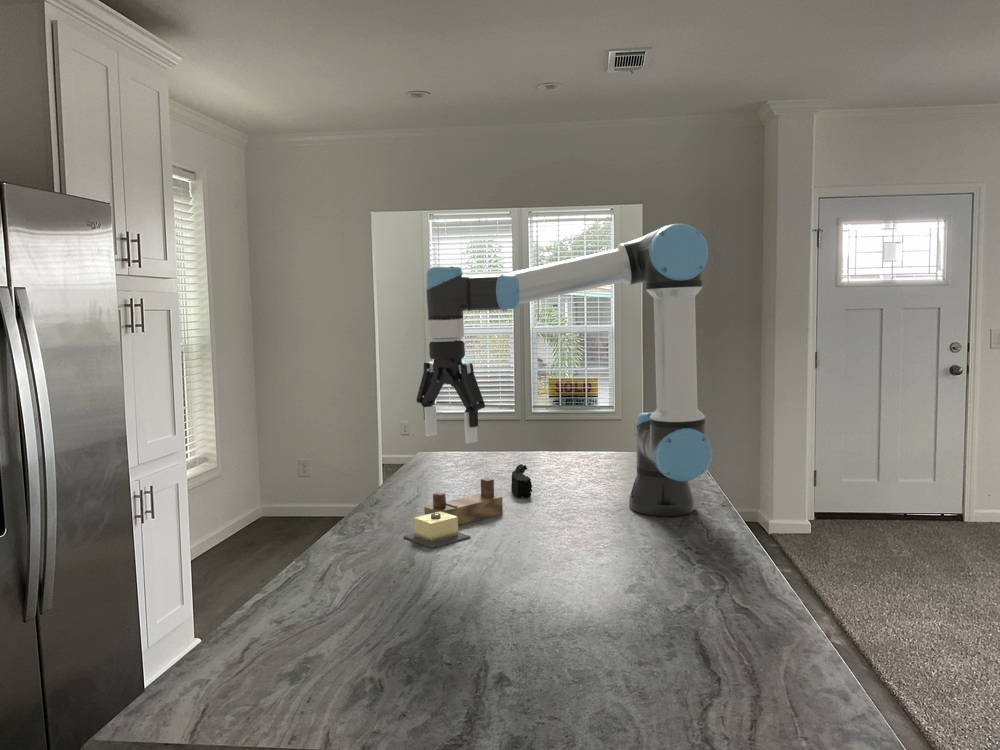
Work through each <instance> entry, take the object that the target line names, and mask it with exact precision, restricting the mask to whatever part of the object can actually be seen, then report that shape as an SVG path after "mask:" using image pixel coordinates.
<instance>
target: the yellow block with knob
mask: <svg viewBox="0 0 1000 750" xmlns="http://www.w3.org/2000/svg"><path fill="white" fill-rule="evenodd" d="M413 530H414V532H413V533H414V536H415V537H417V538H420V539H423V540H425V541H428V542H430V543H432V542H436V541H440V540H443V539H447V538H451V537H454V536H458V532H459V525H458V517H457V516H454V515H451V514H447V513H444V512H441V511H440V512H436V513H431V514H427V515H425V514H423V515H420V516H415V517H413Z"/></svg>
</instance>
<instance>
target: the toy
mask: <svg viewBox="0 0 1000 750" xmlns="http://www.w3.org/2000/svg"><path fill="white" fill-rule="evenodd" d="M526 470H528V467H527V465H526V464H525V465H523V464H521V463H520V464H519V465H517V466H516V467H515V469H514V471H511V488H510V489H511V490H510V491H511V494H513V495H514V497H515V498H516V499H518V498H530V497H531V496H532V492H533V489H532V488H533V485H532V481H531V478H530V477H529V476H528V475H527V476H526V475H525V474H524V473H525V472H526Z"/></svg>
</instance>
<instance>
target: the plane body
mask: <svg viewBox="0 0 1000 750" xmlns="http://www.w3.org/2000/svg"><path fill="white" fill-rule="evenodd" d="M446 497H447V495H446V492H435V493H433V494H432V504H430V505H426V506H424V510H423V511H424V512H423V513H424V515H427V514H431V513H436V512H440V511H441V512H444V513H447V514H451V515H454V516H457V517H458V526H460V524H461V525H464V524H463V523H465V524H467V522H469V523H472V522H471V521H473V522H476V521H475V520H477V521H479V519H480V520H484V519H488V518H492V517H495V516H498V515H499V516H500V515H503V513H504V512H503V511H504V509H503V505H504V504H503V496H501V495H496V494H495V480H494V478H489V477H486V478H480V493H477V494H473V495H469V496H464V497H459V498H456V499H451V500H447V499H446ZM487 517H488V518H487ZM483 518H484V519H483Z"/></svg>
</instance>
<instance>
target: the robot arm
mask: <svg viewBox="0 0 1000 750" xmlns="http://www.w3.org/2000/svg"><path fill="white" fill-rule="evenodd" d="M708 247H709V246H708V243H707V241H706V238H705V237H704V235H703V234H702V233H701V232H700V231H699V230H698V229H697V228H695V227H694V226H691V225H689V224H684V223H673V224H672V223H671V224H666V225H663V226H662V227H660V228H658V229H657V230H653V231H651V232H649V233H647V234H646V235H643V236H641V237H638V238H636V239H633V240H630V241H628V242H627V241H626V242H622V243H619V244H618V245H617V247H616V248H615V249H611V250H607V251H601V252H597V253H592V254H589V255H588V254H587V255H584V256H580V257H574V258H569V259H565V260H560V261H557V262H552V263H547V264H543V265H539V266H533V267H529V268H525V269H519V270H515V271H512V272H511V271H510V272H508V273H507V272H506V273H500V274H499V273H498V274H496V273H495V274H494V273H493V274H479V275H477V274H475V275H470V274H469V275H468V274H467V275H466V274H463V272H462V271H463V270H462V268H461V266H458V265H451V266H450V265H449V266H448V265H447V266H446V265H444V266H443V265H441V266H431V267H430V268H428V269H427V271H426V289H425V290H426V303H427V304H426V305H427V326H428V327H427V328H428V329H427V331H428V333H427V336H428V339H429V340H431V341H430V342H429V343H428V347H429V348H428V349H429V350H428V351H429V352H428V353H429V358H430V359H431V360H433V361H426V362H424V363H423V374H422V376H421V377H422V378H421V381H420V385H419V387H418V392H417V396H416V403H417V404H421V406H422V407H423V409H422V410H423V420H424V430H425V432H424V433H425V437H433V436H438V421H437V420H438V419H437V406H436V403H435V402H436V401H437V397H438V396H439V394H440V392H441V390H442V387H443V386H444V385H450V386H451V387H453V388H454V390H455V392H456V393H457V396H458V397H459V398H460V401H461V402H462V404H463V406H464V407H465V410H464V412H463V415H464V417H463V418H464V419H463V420H464V443H465V444H468V445H469V444H472V443H477V442H478V441H479V440H478V426H479V413H478V412H479V410H482V409H485V407H486V404H485V401H484V398H483V396H482V393H481V390H480V387H479V383H478V382H477V378H476V376H475V371H474V365H473V363H471V362H468V363H463V361H462V360H463V358H465V357H466V348H465V347H466V345H465V341H464V340H462V339H463V338H464V337H465V329H464V328H465V327H464V312H466V311H467V312H471V311H473V312H475V311H487V312H492V311H503V312H504V311H507V310H516V309H518V307H519V306H520V305H521V304H526V303H530V302H534V301H535V302H536V301H539V300H540V301H541V300H545V299H549V298H553V297H558V296H563V295H567V294H572V293H576V292H577V293H578V292H580V291H581V292H582V291H585V290H586V291H587V290H591V289H596V288H599V287H606V286H608V285H609V286H610V285H614V284H618V283H623V284H625V285H627V286H629V285H630V286H631V285H635V284H642V283H645V289H646V292H647V293H648V294H649V295H650V296H651V297H652V299H653V317H654V318H653V319H654V320H653V321H654V322H653V323H654V325H653V326H654V350H655V351H654V354H655V356H654V358H655V361H654V362H655V363H654V364H655V388H656V389H655V394H656V396H655V397H656V409H655V410H654V412H652V411H651V412H640V413H639V414H638V415H637V416H636V424H635V429H636V477H635V479H634V482H633V485H632V488H631V492H630V495H629V497H628V498H629V499H628V502H629V503H628V507H629V509H630V510H632V511H633V512H636V513H639V514H643V515H647V516H654V517H678V516H684V515H688V514H691V513H693V512H694V511H695V498H694V496H693V492H692V488H691V485H690V481H694V480H696V479H697V478H699V477H701V476H702V475H704V473H705V472H706V471H707V470H708V469H709V467H710V465H711V463H712V458H713V446H712V445H711V442H710V440H709V438H708V437H707V436H706V416H705V414H704V413H703V412H702V411H700V410H699V408H698V378H697V377H698V373H697V372H698V370H697V366H698V365H697V329H696V327H697V326H696V318H697V317H696V296H697V294H699V292H700V291H701V290H702V289H703V270H704V268H705V267H706V264H707V262H708V259H709V248H708Z"/></svg>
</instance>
